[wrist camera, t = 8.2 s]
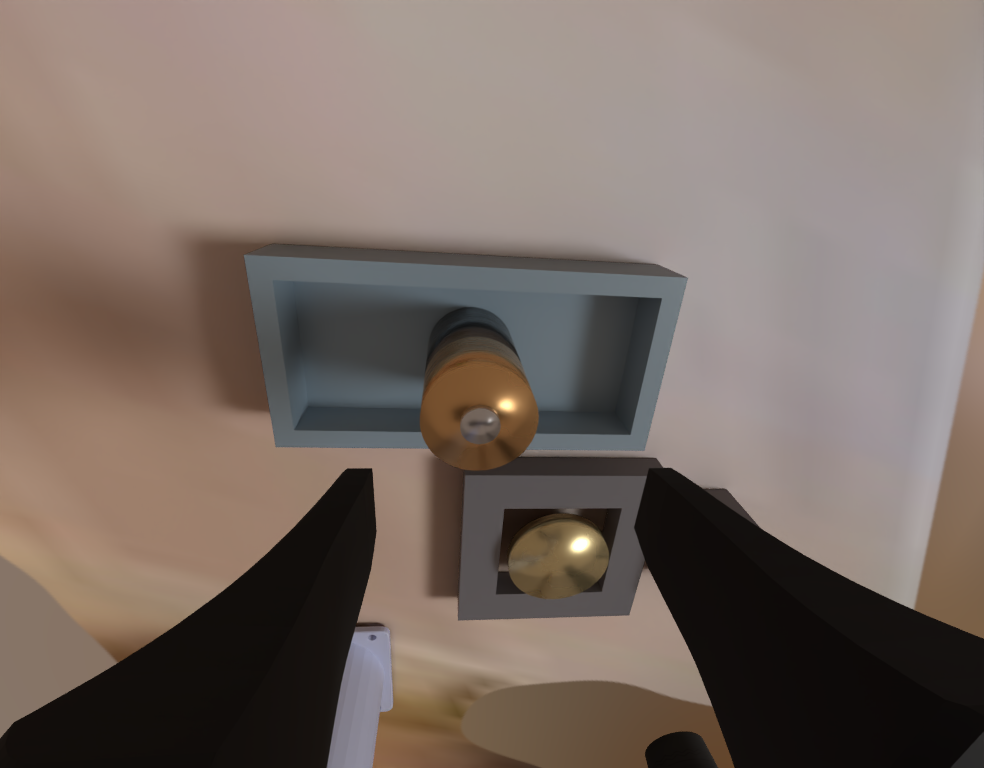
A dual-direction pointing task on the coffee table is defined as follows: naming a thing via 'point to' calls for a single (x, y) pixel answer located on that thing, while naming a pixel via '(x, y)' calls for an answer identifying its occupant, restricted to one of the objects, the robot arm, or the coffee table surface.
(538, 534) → the disc
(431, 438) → the battery cell
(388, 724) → the coffee table surface
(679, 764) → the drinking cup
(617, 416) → the slate trough
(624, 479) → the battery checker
